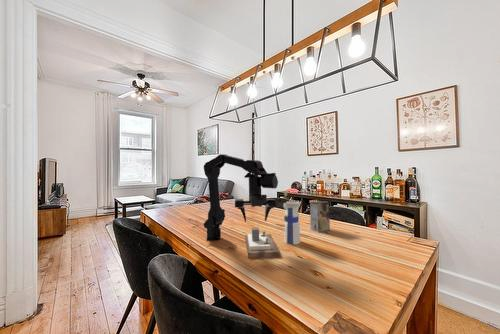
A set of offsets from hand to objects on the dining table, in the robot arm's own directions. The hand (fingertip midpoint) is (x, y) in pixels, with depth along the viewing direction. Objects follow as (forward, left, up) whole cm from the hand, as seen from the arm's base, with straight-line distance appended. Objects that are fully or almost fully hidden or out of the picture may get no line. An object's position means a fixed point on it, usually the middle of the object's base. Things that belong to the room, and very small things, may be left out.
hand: (255, 221), depth 99 cm
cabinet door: (+1, 0, -10) cm, 10 cm away
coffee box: (+39, +22, -12) cm, 47 cm away
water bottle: (+18, +5, -12) cm, 22 cm away
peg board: (+2, 0, -12) cm, 12 cm away
